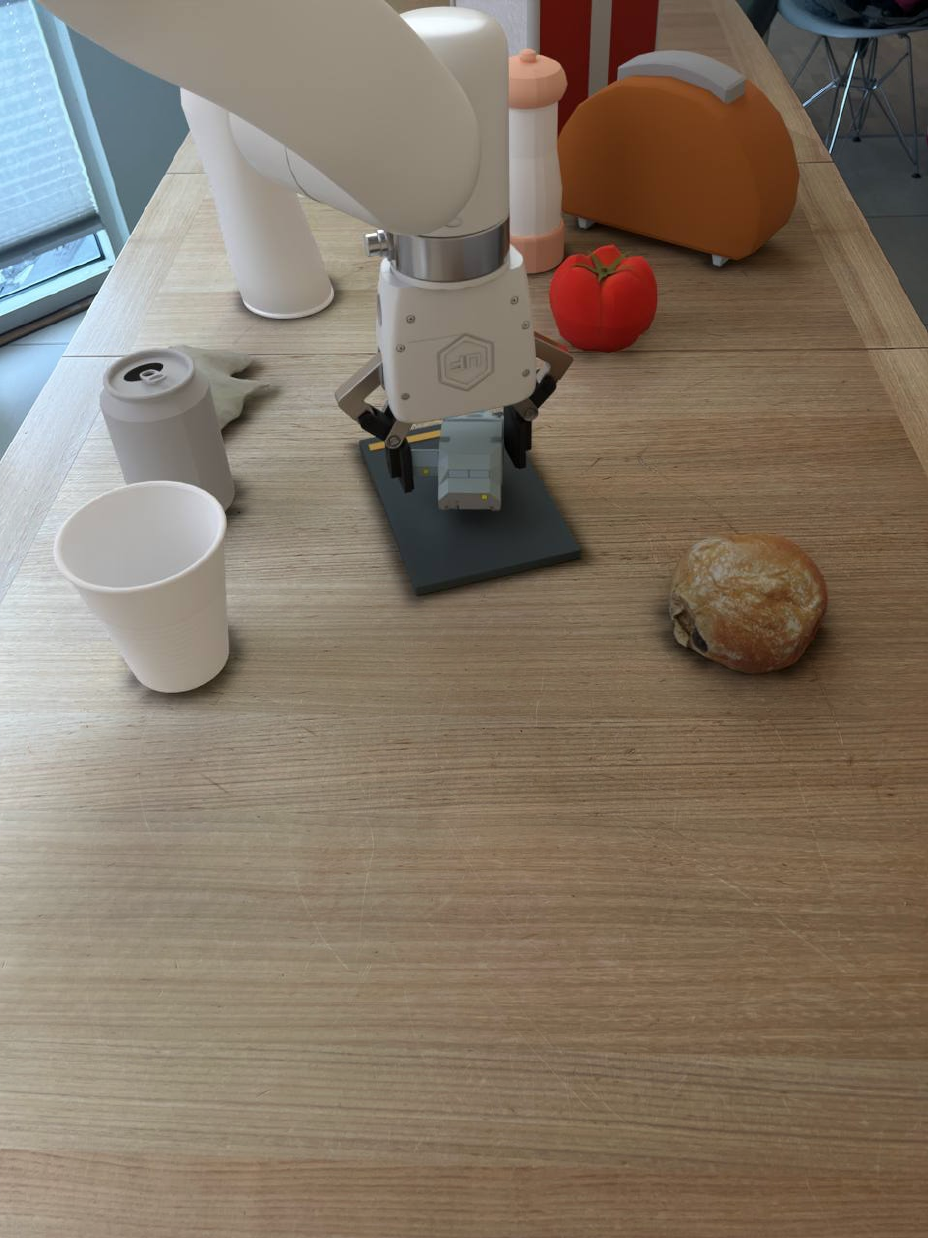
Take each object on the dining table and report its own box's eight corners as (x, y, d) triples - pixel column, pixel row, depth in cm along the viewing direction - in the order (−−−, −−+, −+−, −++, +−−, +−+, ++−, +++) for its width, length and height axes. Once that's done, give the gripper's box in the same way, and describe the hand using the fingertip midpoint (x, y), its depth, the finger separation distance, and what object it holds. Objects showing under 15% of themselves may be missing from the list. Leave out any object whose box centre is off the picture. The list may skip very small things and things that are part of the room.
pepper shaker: (574, 246, 108) (581, 40, 95) (547, 279, 104) (551, 67, 90) (508, 235, 111) (506, 32, 97) (479, 266, 106) (472, 58, 92)
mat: (416, 596, 73) (415, 586, 72) (359, 448, 85) (358, 438, 85) (581, 558, 75) (581, 548, 74) (502, 418, 87) (502, 409, 87)
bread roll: (649, 639, 74) (621, 586, 67) (745, 532, 75) (727, 469, 68) (763, 721, 69) (745, 672, 62) (866, 604, 69) (859, 544, 63)
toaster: (791, 242, 107) (824, 63, 95) (750, 279, 102) (780, 95, 90) (591, 190, 117) (599, 23, 106) (546, 221, 112) (548, 49, 101)
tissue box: (452, 141, 129) (439, -128, 110) (568, 106, 135) (576, -154, 116) (532, 186, 119) (534, -101, 100) (654, 146, 125) (678, -131, 106)
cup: (75, 701, 67) (17, 573, 60) (152, 596, 74) (109, 468, 66) (217, 734, 65) (175, 605, 57) (283, 622, 72) (254, 493, 64)
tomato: (668, 329, 96) (677, 250, 91) (621, 376, 91) (627, 295, 86) (578, 303, 100) (581, 226, 95) (528, 346, 95) (528, 267, 90)
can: (205, 464, 84) (169, 328, 76) (256, 508, 80) (224, 370, 72) (120, 505, 81) (72, 368, 73) (168, 553, 77) (124, 414, 69)
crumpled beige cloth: (136, 353, 95) (96, 459, 84) (131, 319, 92) (90, 424, 82) (277, 366, 96) (255, 472, 85) (276, 332, 93) (253, 437, 83)
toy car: (505, 440, 82) (504, 385, 79) (500, 524, 75) (499, 467, 72) (421, 440, 82) (417, 385, 79) (409, 523, 75) (404, 467, 72)
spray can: (204, 317, 101) (136, 27, 83) (234, 264, 108) (177, -13, 91) (324, 320, 100) (281, 26, 82) (346, 265, 107) (310, -15, 90)
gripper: (321, 291, 62) (355, 526, 74) (604, 242, 65) (590, 475, 77) (298, 236, 67) (333, 464, 79) (561, 193, 70) (555, 419, 82)
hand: (460, 468), depth 78 cm, fingers closed on toy car, 7 cm apart
